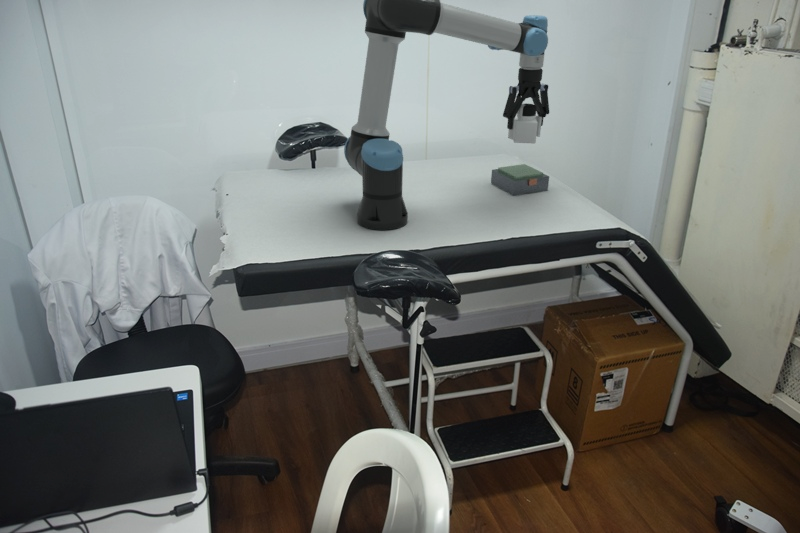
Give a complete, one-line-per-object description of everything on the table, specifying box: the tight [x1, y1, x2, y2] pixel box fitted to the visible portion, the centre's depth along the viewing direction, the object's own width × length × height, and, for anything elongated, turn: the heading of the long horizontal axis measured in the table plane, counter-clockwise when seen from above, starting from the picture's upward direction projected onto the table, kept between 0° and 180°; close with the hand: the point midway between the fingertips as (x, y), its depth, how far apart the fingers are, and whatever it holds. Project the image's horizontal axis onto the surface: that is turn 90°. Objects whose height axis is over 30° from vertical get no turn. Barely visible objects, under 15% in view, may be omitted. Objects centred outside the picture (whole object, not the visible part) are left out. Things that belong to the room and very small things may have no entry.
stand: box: [490, 163, 550, 197], centre depth 212 cm, size 14×15×6 cm
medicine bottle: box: [512, 103, 538, 144], centre depth 203 cm, size 7×7×12 cm
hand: (524, 137), depth 205 cm, fingers closed on medicine bottle, 9 cm apart
